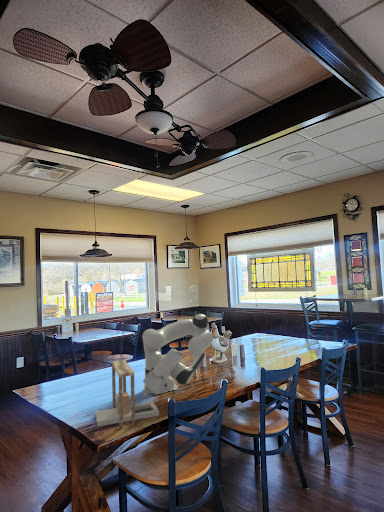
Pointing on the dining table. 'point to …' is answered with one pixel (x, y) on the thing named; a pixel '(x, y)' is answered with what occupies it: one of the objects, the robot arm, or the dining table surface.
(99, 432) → the dining table surface
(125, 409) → the block
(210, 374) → the dining table surface
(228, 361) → the dining table surface
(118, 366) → the arch
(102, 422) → the tray
